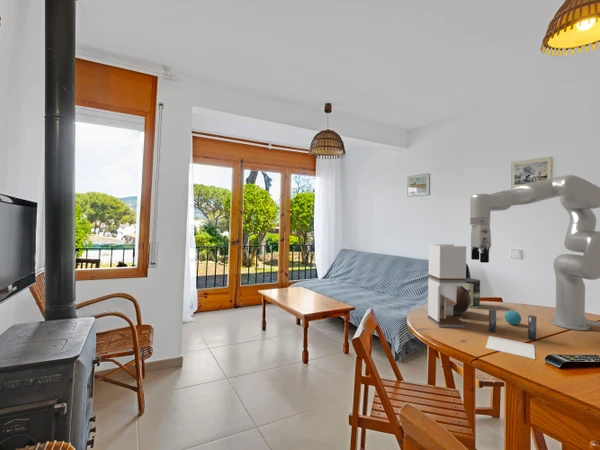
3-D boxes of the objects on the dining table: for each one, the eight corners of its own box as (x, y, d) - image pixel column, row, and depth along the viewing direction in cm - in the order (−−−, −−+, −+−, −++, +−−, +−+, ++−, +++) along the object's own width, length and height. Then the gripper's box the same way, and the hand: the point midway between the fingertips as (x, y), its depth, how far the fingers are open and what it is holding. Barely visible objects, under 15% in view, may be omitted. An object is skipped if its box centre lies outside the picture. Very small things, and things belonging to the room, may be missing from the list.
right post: (536, 339, 115) (536, 316, 115) (536, 341, 113) (536, 317, 113) (527, 337, 117) (528, 314, 116) (528, 339, 115) (528, 316, 114)
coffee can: (475, 303, 165) (476, 278, 165) (483, 308, 155) (483, 282, 155) (455, 302, 167) (456, 277, 167) (461, 307, 157) (462, 281, 157)
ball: (521, 324, 132) (521, 310, 132) (521, 327, 127) (521, 313, 127) (504, 321, 136) (505, 308, 136) (504, 324, 131) (504, 311, 131)
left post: (496, 331, 123) (496, 309, 123) (495, 333, 121) (496, 311, 121) (489, 329, 124) (489, 308, 124) (488, 331, 122) (488, 310, 122)
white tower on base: (438, 327, 127) (440, 246, 127) (427, 319, 138) (428, 244, 137) (465, 327, 127) (466, 246, 127) (452, 319, 138) (453, 244, 137)
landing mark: (534, 345, 109) (534, 344, 109) (535, 359, 98) (535, 358, 98) (489, 336, 117) (489, 335, 117) (485, 348, 106) (485, 347, 106)
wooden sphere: (429, 311, 150) (430, 281, 150) (450, 308, 156) (451, 279, 156) (455, 320, 136) (456, 288, 136) (477, 316, 142) (478, 285, 142)
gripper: (498, 222, 120) (498, 264, 121) (481, 222, 137) (480, 258, 138) (478, 222, 122) (478, 263, 122) (463, 222, 139) (463, 258, 139)
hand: (479, 260), depth 130 cm, fingers open, 9 cm apart
